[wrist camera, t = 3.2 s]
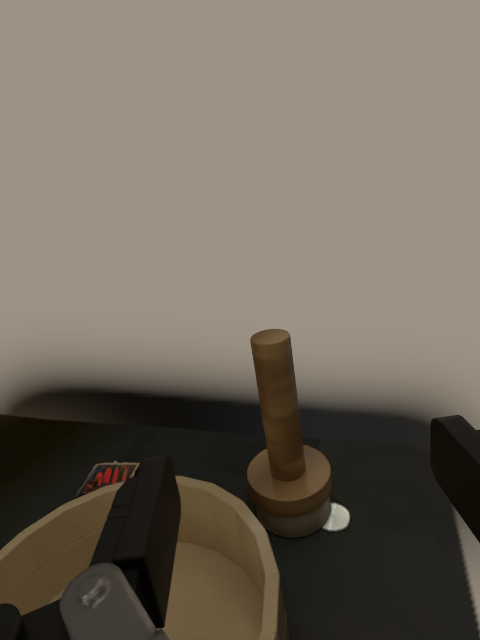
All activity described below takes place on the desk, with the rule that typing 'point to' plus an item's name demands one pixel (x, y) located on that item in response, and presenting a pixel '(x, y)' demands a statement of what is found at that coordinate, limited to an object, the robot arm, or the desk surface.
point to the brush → (285, 448)
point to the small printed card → (106, 476)
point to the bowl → (188, 571)
